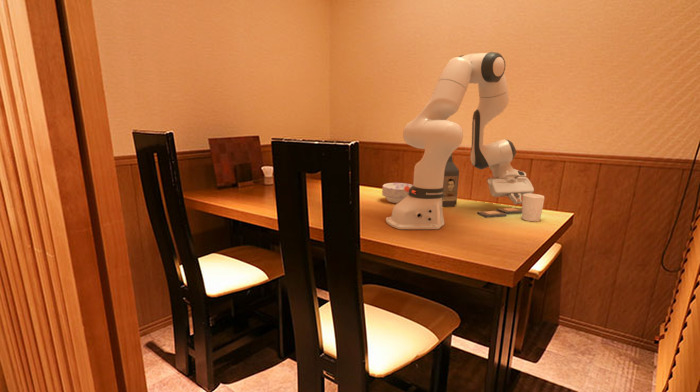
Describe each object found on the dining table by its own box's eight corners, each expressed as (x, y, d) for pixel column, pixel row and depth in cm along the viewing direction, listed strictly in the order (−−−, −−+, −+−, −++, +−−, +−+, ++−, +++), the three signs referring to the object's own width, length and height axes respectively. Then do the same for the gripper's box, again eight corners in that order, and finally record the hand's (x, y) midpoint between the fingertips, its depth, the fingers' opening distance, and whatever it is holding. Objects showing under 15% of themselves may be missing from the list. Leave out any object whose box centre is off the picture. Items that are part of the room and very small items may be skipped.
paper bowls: (378, 203, 173) (379, 186, 171) (385, 197, 187) (386, 181, 186) (411, 206, 169) (412, 189, 167) (415, 199, 183) (416, 183, 181)
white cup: (543, 222, 147) (547, 198, 145) (522, 221, 148) (525, 196, 146) (538, 217, 154) (541, 194, 152) (518, 216, 156) (520, 193, 154)
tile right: (505, 214, 158) (505, 211, 158) (496, 210, 164) (496, 208, 164) (524, 213, 161) (525, 210, 161) (515, 209, 167) (515, 207, 166)
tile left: (485, 217, 152) (486, 214, 152) (477, 214, 158) (477, 211, 157) (506, 216, 155) (506, 213, 155) (496, 212, 160) (497, 210, 160)
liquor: (431, 202, 176) (435, 139, 170) (448, 202, 178) (453, 139, 172) (440, 207, 168) (445, 140, 161) (458, 206, 170) (464, 141, 163)
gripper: (489, 173, 159) (501, 200, 152) (528, 172, 165) (542, 198, 158) (481, 181, 164) (493, 208, 157) (520, 180, 170) (533, 206, 163)
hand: (518, 203), depth 157 cm, fingers closed
